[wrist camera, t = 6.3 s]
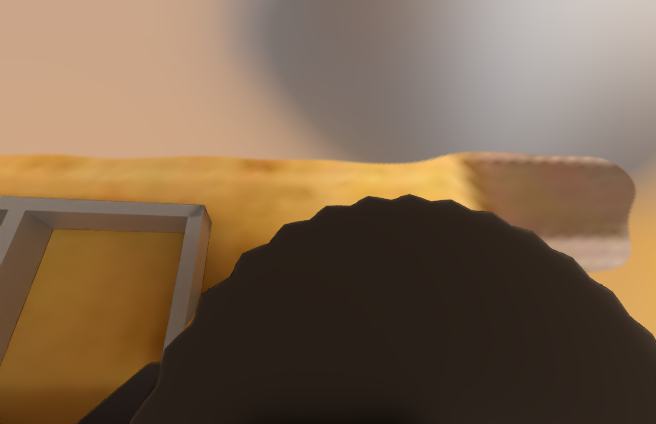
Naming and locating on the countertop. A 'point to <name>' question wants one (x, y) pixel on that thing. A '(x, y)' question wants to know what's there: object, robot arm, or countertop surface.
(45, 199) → the parts organiser
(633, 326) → the supplement bottle
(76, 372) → the countertop surface
